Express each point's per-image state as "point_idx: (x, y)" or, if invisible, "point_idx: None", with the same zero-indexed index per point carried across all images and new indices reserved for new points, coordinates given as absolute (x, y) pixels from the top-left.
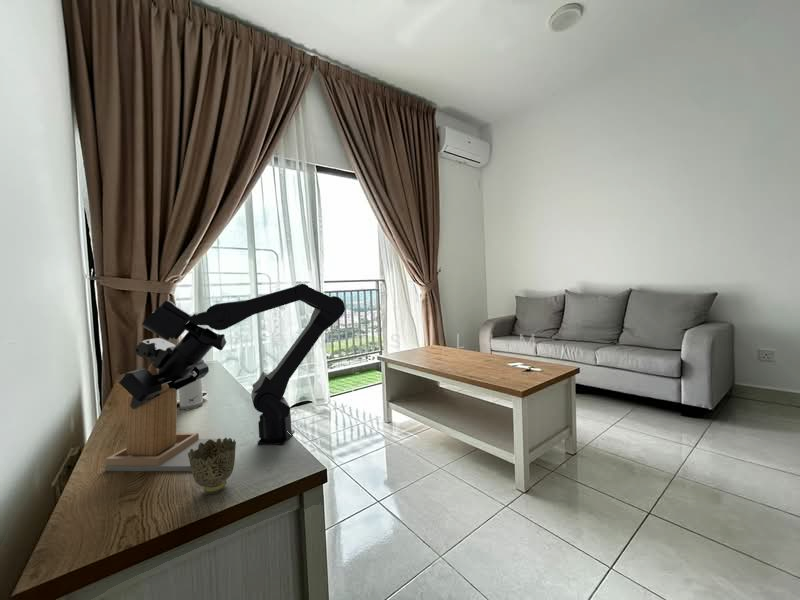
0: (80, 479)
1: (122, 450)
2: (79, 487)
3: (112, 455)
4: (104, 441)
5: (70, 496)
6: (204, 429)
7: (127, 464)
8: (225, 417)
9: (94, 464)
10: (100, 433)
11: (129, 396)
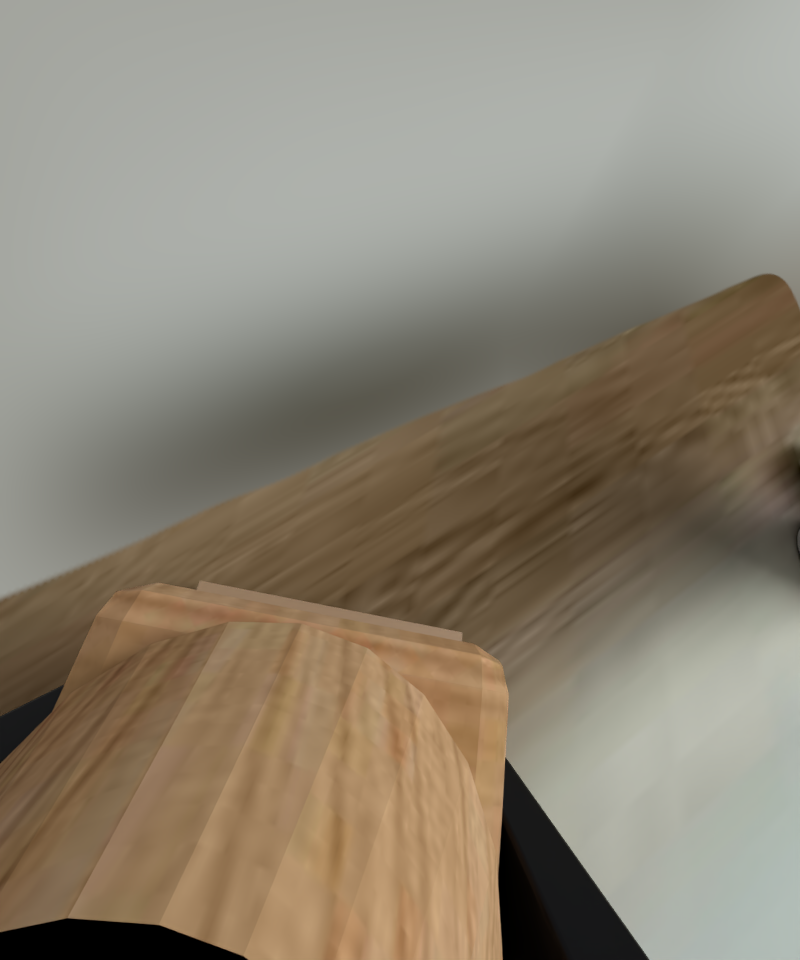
0: (169, 536)
1: (276, 602)
2: (88, 579)
3: (228, 589)
4: (489, 419)
5: (13, 595)
6: (610, 857)
7: None
8: (788, 908)
9: (294, 505)
10: (552, 370)
11: (92, 628)
